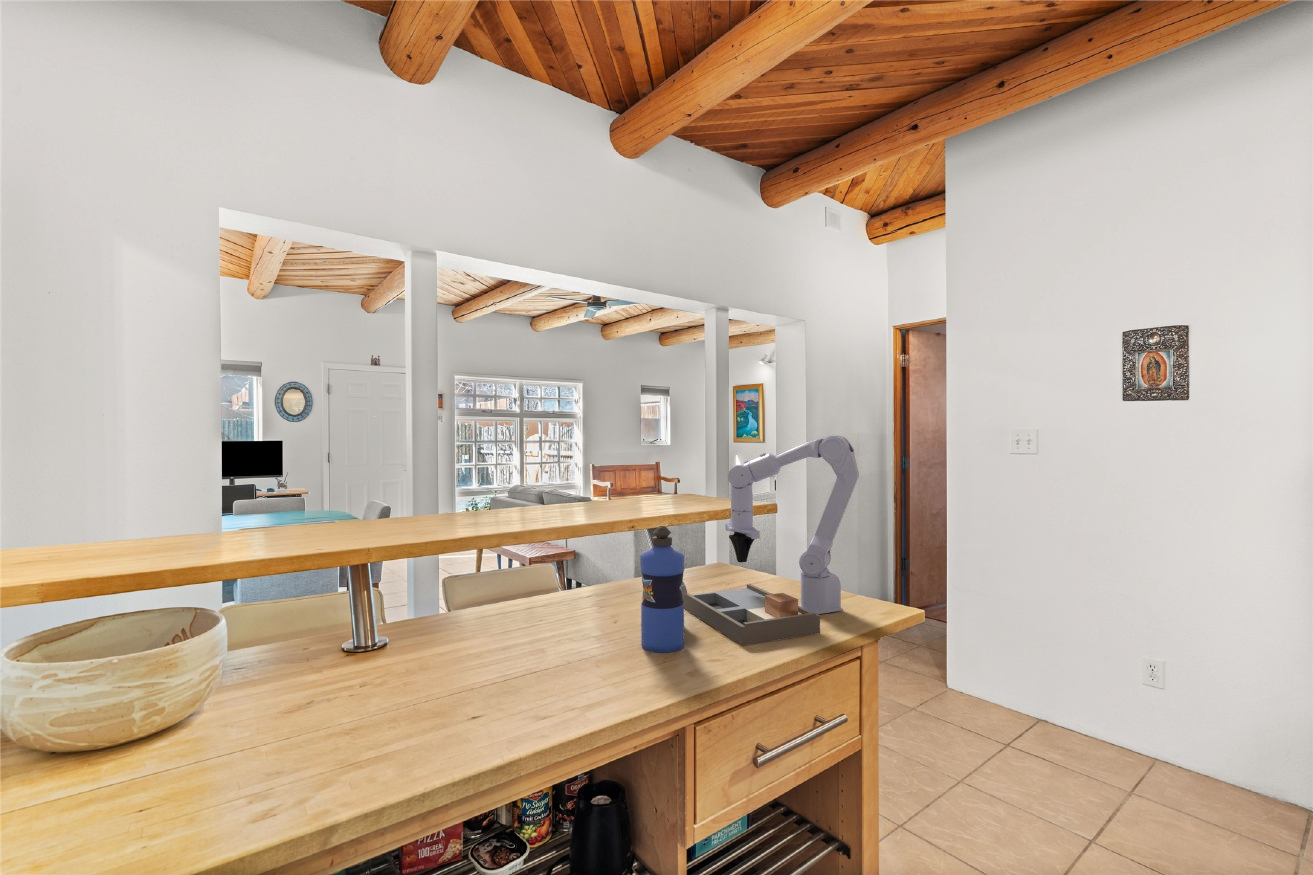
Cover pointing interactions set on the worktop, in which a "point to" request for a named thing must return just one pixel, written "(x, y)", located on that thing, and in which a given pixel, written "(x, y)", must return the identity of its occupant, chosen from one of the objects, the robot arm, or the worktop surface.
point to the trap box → (749, 616)
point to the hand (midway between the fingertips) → (741, 561)
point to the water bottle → (662, 595)
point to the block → (781, 605)
